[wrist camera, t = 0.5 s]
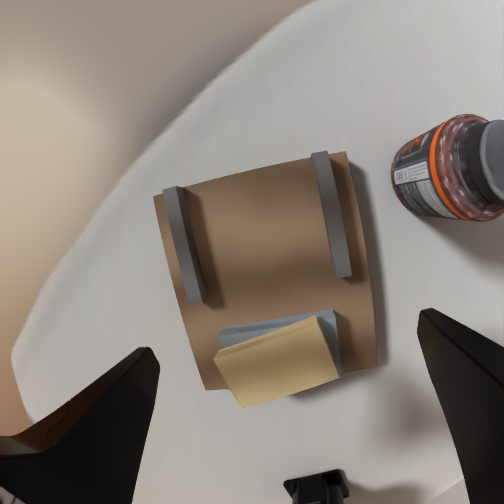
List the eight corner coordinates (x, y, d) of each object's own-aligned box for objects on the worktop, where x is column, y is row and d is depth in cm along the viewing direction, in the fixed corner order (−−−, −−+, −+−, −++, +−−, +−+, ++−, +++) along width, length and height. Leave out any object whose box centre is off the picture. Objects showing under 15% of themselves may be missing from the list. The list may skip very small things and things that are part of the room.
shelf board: (371, 353, 22) (387, 385, 17) (211, 378, 24) (195, 411, 20) (341, 156, 20) (354, 141, 16) (164, 197, 23) (132, 195, 18)
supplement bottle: (427, 129, 19) (510, 83, 8) (462, 193, 19) (557, 189, 8) (373, 163, 20) (443, 125, 9) (412, 230, 20) (500, 251, 9)
